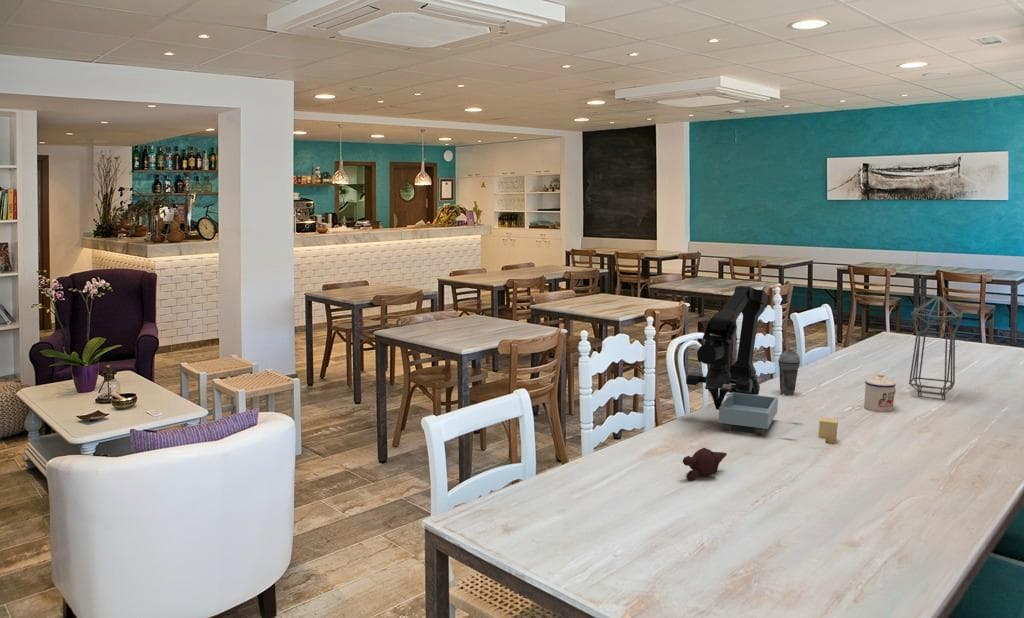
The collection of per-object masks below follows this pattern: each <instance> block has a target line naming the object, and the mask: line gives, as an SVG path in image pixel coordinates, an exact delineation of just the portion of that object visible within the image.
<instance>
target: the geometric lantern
mask: <svg viewBox="0 0 1024 618" xmlns="http://www.w3.org/2000/svg"><path fill="white" fill-rule="evenodd" d="M933 302H934V304H933V306H932V307H931V309H926V307H928V306H929V305H930V304H932V303H933ZM941 305H942V308H943V310H944V311H940V310H941V309H940V308H941V307H940V306H941ZM935 307H936V308H935ZM946 308H947V309H948V310H947V309H946ZM934 309H935V310H934ZM919 312H923V313H919ZM932 313H935V315H932ZM948 313H950V314H949V315H947V314H948ZM941 314H944V316H940V315H941ZM963 314H964V310H962V309H960V308H959V307H957V306H956V305H954V304H953V303H951V302H949V301H948V300H947V299H945V298H944V297H943V296H934V297H932V298H930V299H929V300H927V301H925V302H923V303H921V304H920V305H918V306H916V307H914V308H913V311H912V312H911V313H910V315H911V317H912V319H913V322H914V328H915V330H914V331H915V341H914V342H915V343H914V348H913V355H912V361H911V366H910V367H911V368H910V374H909V381H908V385H910V386H911V387H912V388H914V389H915V390H916V391H917V394H916V395H917V397H920V398H925V399H932V400H940V401H945V400H946V394H947V393H948V392H949V391H950V390H952V389H953V388H954V386H955V381H956V368H955V367H956V334H957V332H958V330H959V327H960V325H961V324H962V320H963ZM922 316H924V317H927V320H925V319H924V318H923V317H922ZM918 318H919V319H920V320H921V321H923V323H926V324H927V326H926V327H925V328H924V329H923V330H922V327H921V325H920V322H919V320H918ZM930 318H932V321H931V320H930ZM957 318H958V320H957V322H956V326H955V329H954V331H953V332H952V330H951V328H950V327H949V325H948V323H947V322H949V321H953V320H954V319H957ZM935 320H937V323H934V321H935ZM940 321H941V322H940ZM944 323H945V325H946V327H947V329H948V330H949V332H946V331H945V330H944V329H943V327H942V324H944ZM917 324H918V326H919V329H920V330H918V327H917ZM931 326H939V328H940V329H941V332H940V331H939V332H938V331H931V330H929V328H930V327H931ZM928 330H929V331H928ZM926 333H932V334H943V335H944V337H943V336H932V335H926ZM922 334H923V335H922ZM947 335H950V336H949V337H948V336H947ZM921 337H923V339H922V347H921V348H922V350H921V356H920V346H921ZM926 338H935V339H945V348H944V349H945V351H944V379H939V378H938V379H937V378H929V377H928V378H926V377H921V375H922V367H923V360H924V351H925V342H926ZM948 340H949V348H948ZM948 349H949V350H948ZM919 357H920V359H919ZM919 360H920V361H919ZM947 361H948V362H947ZM919 362H920V364H919ZM918 373H919V374H918ZM949 378H950V379H949ZM921 380H924V381H925V380H926V381H934V382H943V386H942V387H939V386H931V385H926V384H925V385H923V384H922V382H921ZM913 381H914V383H913ZM918 383H919V384H918ZM948 383H950V384H949V385H948V386H947V384H948ZM922 388H923V389H924V388H925V389H937V390H940V392H934V391H933V392H932V391H925V390H922ZM923 393H925V394H931V395H939V396H941V397H933V396H924V395H922V394H923Z"/></svg>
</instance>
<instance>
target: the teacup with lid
mask: <svg viewBox="0 0 1024 618" xmlns="http://www.w3.org/2000/svg"><path fill="white" fill-rule="evenodd" d="M864 384H865V386H864V387H865V389H864V402H863V407H864V409H866V410H869V411H873V412H880V413H888V412H892V411H893V409H894V401H895V395H896V393H897V392H896V391H897V389H896V382H895V381H893V379H892V380H891V379H889V378H888V377H886V376H885V374H884V373H882V372H881V373H880V372H879V373H877V375H876V376H873V377H870V378H867V379H865V381H864Z"/></svg>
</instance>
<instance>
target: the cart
mask: <svg viewBox="0 0 1024 618" xmlns="http://www.w3.org/2000/svg"><path fill="white" fill-rule="evenodd" d="M778 404H779V397H776V396H768V395H751V394H743V393H734V392H731V393H730V394H729V396H728V397H727V398H726V399H725V400H723V402H722V404H721V406H720V407H719V410H718V424H719V423H720V424H722V430H724V432H725V431H729V430H730V431H731V429H732V427H733V425H734V426H735V425H736V426H742V427H748V428H749V427H750V428H754V429H755V430H754V434H757V435H759V436H758V437H761V436H760V435H764V433H765V430H768V429H769V427H770V426H771V423H772V422H773V421H772V420H774V419H775V417H776V415H777V413H778V406H779V405H778Z"/></svg>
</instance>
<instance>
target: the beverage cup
mask: <svg viewBox="0 0 1024 618" xmlns="http://www.w3.org/2000/svg"><path fill="white" fill-rule="evenodd" d="M785 338H786V339H785V340H786V350H783V351H782V352H781V353H780V354H779V357H778V360H777V361H778V368H779V391H780V392H779V393H781V394H780V395H782V394H784V395H783V396H788V395H791V396H794V395H795V390H796V385H797V384H796V383H797V377H798V372H799V371H798V370H799V367H800V364H801V361H800V356H799V354H798V353H797V352H796V351H795V350H791V349H789V338H788V337H785Z"/></svg>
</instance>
